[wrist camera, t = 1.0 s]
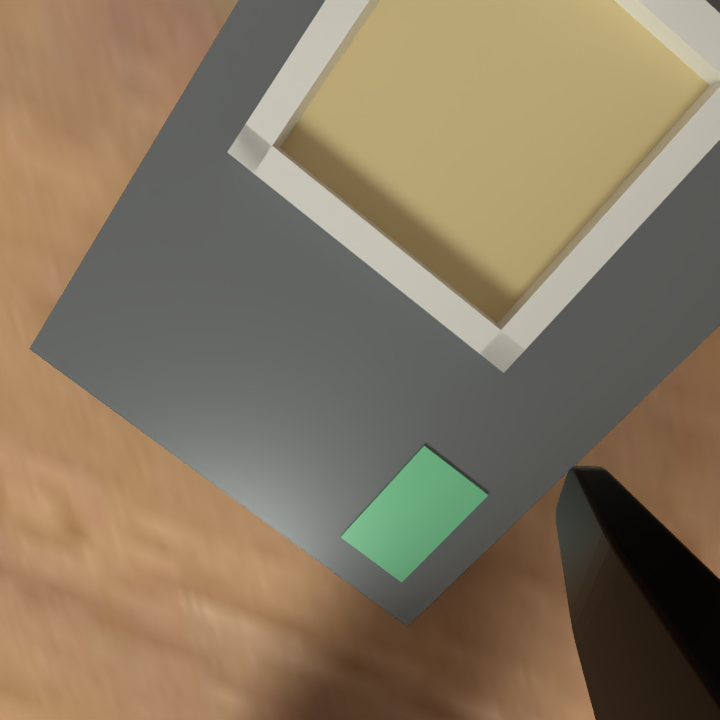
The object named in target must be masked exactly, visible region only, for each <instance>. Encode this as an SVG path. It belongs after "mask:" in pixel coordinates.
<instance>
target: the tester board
mask: <svg viewBox="0 0 720 720" xmlns="http://www.w3.org/2000/svg"><path fill="white" fill-rule="evenodd" d="M719 325H720V0H239V1H238V2H237V4H236V6H235V7H234V9H233V11H232V12H231V14H230V16H229V17H228V19H227V21H226V22H225V24H224V26H223V27H222V29H221V31H220V32H219V34H218V36H217V37H216V39H215V41H214V42H213V44H212V46H211V47H210V49H209V51H208V52H207V54H206V56H205V57H204V59H203V61H202V62H201V64H200V66H199V67H198V69H197V71H196V72H195V74H194V76H193V77H192V79H191V81H190V82H189V84H188V86H187V87H186V89H185V91H184V92H183V94H182V96H181V97H180V99H179V101H178V102H177V104H176V106H175V107H174V109H173V111H172V112H171V114H170V116H169V117H168V119H167V121H166V122H165V124H164V126H163V127H162V129H161V131H160V132H159V134H158V135H157V137H156V139H155V140H154V142H153V144H152V145H151V147H150V149H149V150H148V152H147V154H146V155H145V157H144V159H143V160H142V162H141V164H140V165H139V167H138V169H137V170H136V172H135V174H134V175H133V177H132V179H131V180H130V182H129V184H128V185H127V187H126V189H125V190H124V192H123V194H122V195H121V197H120V199H119V200H118V202H117V204H116V205H115V207H114V209H113V210H112V212H111V214H110V215H109V217H108V219H107V220H106V222H105V224H104V225H103V227H102V229H101V230H100V232H99V234H98V235H97V237H96V239H95V240H94V242H93V244H92V245H91V247H90V249H89V250H88V252H87V254H86V255H85V257H84V259H83V260H82V262H81V264H80V265H79V267H78V269H77V270H76V272H75V274H74V275H73V277H72V279H71V280H70V282H69V284H68V285H67V287H66V289H65V290H64V292H63V294H62V295H61V297H60V299H59V300H58V302H57V304H56V305H55V307H54V309H53V310H52V312H51V314H50V315H49V317H48V319H47V320H46V322H45V324H44V325H43V327H42V329H41V330H40V332H39V334H38V335H37V337H36V339H35V340H34V342H33V344H32V345H31V347H30V350H32V351H33V352H34V353H36V354H37V355H38V356H40V357H41V358H42V359H44V360H45V361H47V362H48V363H49V364H51V365H52V366H53V367H55V368H56V369H57V370H59V371H60V372H61V373H63V374H64V375H66V376H67V377H68V378H70V379H71V380H72V381H74V382H75V383H76V384H78V385H79V386H81V387H82V388H83V389H85V390H86V391H87V392H89V393H90V394H91V395H93V396H94V397H96V398H97V399H98V400H100V401H101V402H102V403H104V404H105V405H106V406H108V407H109V408H111V409H112V410H113V411H115V412H116V413H117V414H119V415H120V416H121V417H123V418H124V419H125V420H127V421H128V422H130V423H131V424H132V425H134V426H135V427H136V428H138V429H139V430H140V431H142V432H143V433H145V434H146V435H147V436H149V437H150V438H151V439H153V440H154V441H155V442H157V443H158V444H160V445H161V446H162V447H164V448H165V449H166V450H168V451H169V452H170V453H172V454H173V455H175V456H176V457H177V458H179V459H180V460H181V461H183V462H184V463H185V464H187V465H188V466H189V467H191V468H192V469H194V470H195V471H196V472H198V473H199V474H200V475H202V476H203V477H204V478H206V479H207V480H209V481H210V482H211V483H213V484H214V485H215V486H217V487H218V488H219V489H221V490H222V491H224V492H225V493H226V494H228V495H229V496H230V497H232V498H233V499H234V500H236V501H237V502H239V503H240V504H241V505H243V506H244V507H245V508H247V509H248V510H249V511H251V512H252V513H253V514H255V515H256V516H258V517H259V518H260V519H262V520H263V521H264V522H266V523H267V524H268V525H270V526H271V527H273V528H274V529H275V530H277V531H278V532H279V533H281V534H282V535H283V536H285V537H286V538H288V539H289V540H290V541H292V542H293V543H294V544H296V545H297V546H298V547H300V548H301V549H302V550H304V551H305V552H307V553H308V554H309V555H311V556H312V557H313V558H315V559H316V560H317V561H319V562H320V563H322V564H323V565H324V566H326V567H327V568H328V569H330V570H331V571H332V572H334V573H335V574H337V575H338V576H339V577H341V578H342V579H343V580H345V581H346V582H347V583H349V584H350V585H352V586H353V587H354V588H356V589H357V590H358V591H360V592H361V593H362V594H364V595H365V596H366V597H368V598H369V599H371V600H372V601H373V602H375V603H376V604H377V605H379V606H380V607H381V608H383V609H384V610H386V611H387V612H388V613H390V614H391V615H392V616H394V617H395V618H396V619H398V620H399V621H401V622H402V623H403V624H405V625H406V626H407V627H408V626H409V625H410V624H411V623H412V622H413V621H414V620H415V619H416V618H417V617H418V616H419V615H420V614H421V613H422V612H423V611H424V610H425V609H426V608H427V607H428V606H429V605H430V604H431V603H432V602H433V601H434V600H435V599H437V598H438V597H439V596H440V595H441V594H442V593H443V592H444V591H445V590H446V589H447V588H448V587H449V586H450V585H451V584H452V583H453V582H454V581H455V580H456V579H457V578H458V577H459V576H460V575H461V574H462V573H463V572H464V571H466V570H467V569H468V568H469V567H470V566H471V565H472V564H473V563H474V562H475V561H476V560H477V559H478V558H479V557H480V556H481V555H482V554H483V553H484V552H485V551H486V550H487V549H488V548H489V547H490V546H491V545H492V544H493V543H494V542H496V541H497V540H498V539H499V538H500V537H501V536H502V535H503V534H504V533H505V532H506V531H507V530H508V529H509V528H510V527H511V526H512V525H513V524H514V523H515V522H516V521H517V520H518V519H519V518H520V517H521V516H522V515H523V514H525V513H526V512H527V511H528V510H529V509H530V508H531V507H532V506H533V505H534V504H535V503H536V502H537V501H538V500H539V499H540V498H541V497H542V496H543V495H544V494H545V493H546V492H547V491H548V490H549V489H550V488H551V487H552V486H554V485H555V484H556V483H557V482H558V481H559V480H560V479H561V478H562V477H563V476H564V475H565V474H566V473H567V472H568V471H569V470H570V469H571V468H572V467H573V466H574V465H575V464H576V463H577V462H578V461H579V460H580V459H581V458H583V457H584V456H585V455H586V454H587V453H588V452H589V451H590V450H591V449H592V448H593V447H594V446H595V445H596V444H597V443H598V442H599V441H600V440H601V439H602V438H603V437H604V436H605V435H606V434H607V433H608V432H609V431H610V430H612V429H613V428H614V427H615V426H616V425H617V424H618V423H619V422H620V421H621V420H622V419H623V418H624V417H625V416H626V415H627V414H628V413H629V412H630V411H631V410H632V409H633V408H634V407H635V406H636V405H637V404H638V403H639V402H641V401H642V400H643V399H644V398H645V397H646V396H647V395H648V394H649V393H650V392H651V391H652V390H653V389H654V388H655V387H656V386H657V385H658V384H659V383H660V382H661V381H662V380H663V379H664V378H665V377H666V376H667V375H668V374H670V373H671V372H672V371H673V370H674V369H675V368H676V367H677V366H678V365H679V364H680V363H681V362H682V361H683V360H684V359H685V358H686V357H687V356H688V355H689V354H690V353H691V352H692V351H693V350H694V349H695V348H696V347H697V346H699V345H700V344H701V343H702V342H703V341H704V340H705V339H706V338H707V337H708V336H709V335H710V334H711V333H712V332H713V331H714V330H715V329H716V328H717V327H718V326H719Z"/></svg>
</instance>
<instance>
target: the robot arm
mask: <svg viewBox="0 0 720 720" xmlns="http://www.w3.org/2000/svg"><path fill="white" fill-rule="evenodd" d="M556 525H557V531H558V538H559V545H560V551H561V558H562V565H563V572H564V578H565V585H566V592H567V599H568V605H569V612H570V618H571V624H572V630H573V634H574V638H575V643H576V647H577V651H578V655H579V658H580V662H581V666H582V670H583V674H584V677H585V681H586V685H587V689H588V692H589V696H590V700H591V704H592V707H593V711H594V715H595V719H596V720H720V579H719V578H718V577H717V576H716V575H715V574H714V573H713V572H712V571H711V570H710V569H709V568H708V567H707V566H706V565H704V564H703V563H702V562H701V561H700V560H699V559H698V558H697V557H696V556H695V555H694V554H693V553H692V552H691V551H690V550H689V549H688V548H687V547H686V546H685V545H684V544H683V543H682V542H681V541H680V540H679V539H677V538H676V537H675V536H674V535H673V534H672V533H671V532H670V531H669V530H668V529H667V528H666V527H665V526H664V525H663V524H662V523H661V522H660V521H659V520H658V519H657V518H656V517H655V516H654V515H653V514H652V513H651V512H649V511H648V510H647V509H646V508H645V507H644V506H643V505H642V504H641V503H640V502H639V501H638V500H637V499H636V498H635V497H634V496H633V495H632V494H631V493H630V492H629V491H628V490H627V489H626V488H625V487H624V486H622V485H621V484H620V483H619V482H618V481H617V480H616V479H615V478H614V477H613V476H612V475H611V474H610V473H609V472H608V471H607V470H605V469H603V468H601V467H592V466H574V467H572V468H571V469H570V470H569V472H568V474H567V477H566V480H565V483H564V486H563V489H562V492H561V495H560V498H559V501H558V504H557V508H556Z"/></svg>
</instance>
